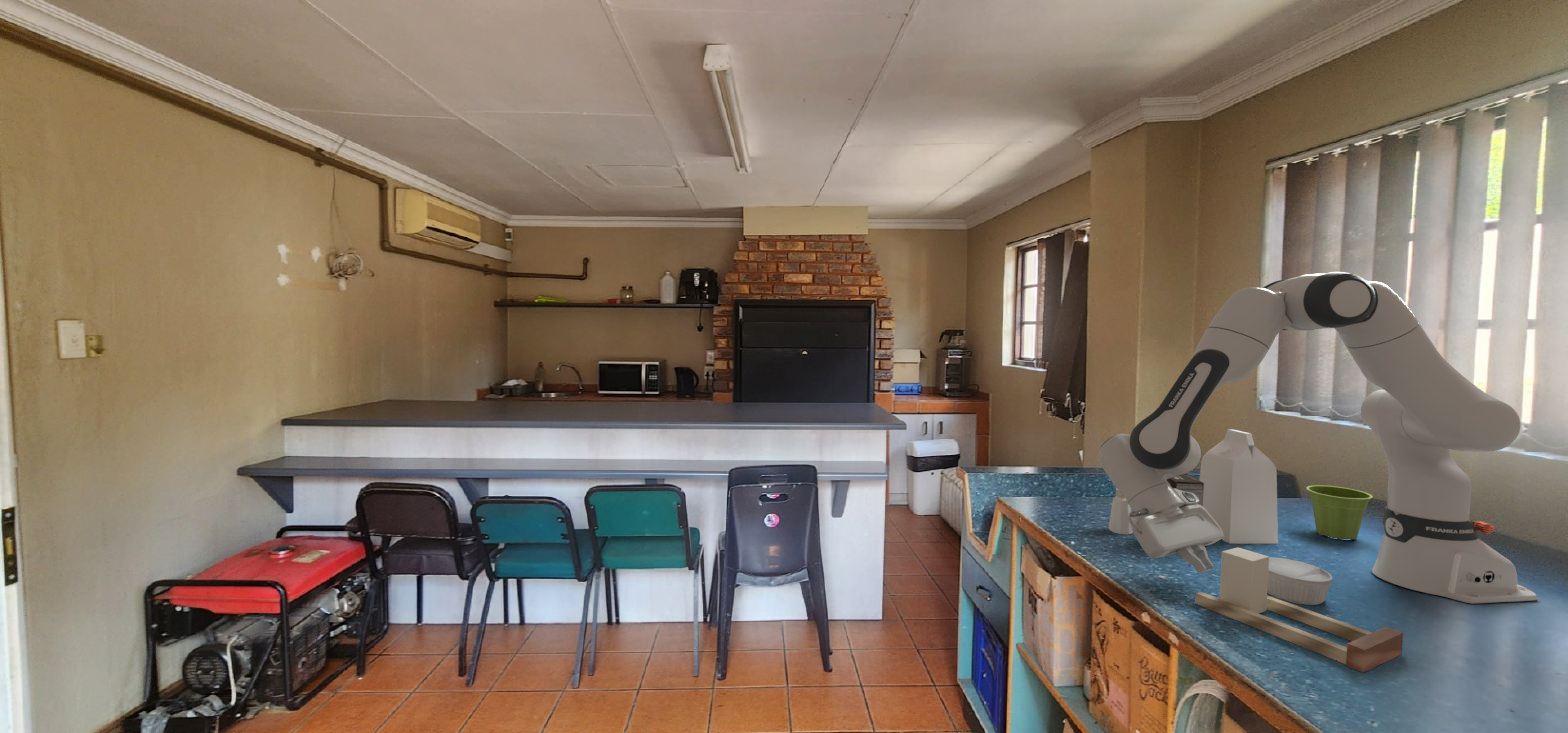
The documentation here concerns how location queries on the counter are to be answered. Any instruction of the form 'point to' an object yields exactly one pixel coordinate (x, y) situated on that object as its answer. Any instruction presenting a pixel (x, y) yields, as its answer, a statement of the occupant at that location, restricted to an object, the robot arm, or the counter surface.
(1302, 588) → the ramekin
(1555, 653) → the counter surface
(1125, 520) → the pepper shaker
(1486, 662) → the counter surface
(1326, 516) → the plant pot
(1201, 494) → the coffee box
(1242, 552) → the block
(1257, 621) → the keeper track
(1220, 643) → the counter surface
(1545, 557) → the counter surface
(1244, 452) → the milk
